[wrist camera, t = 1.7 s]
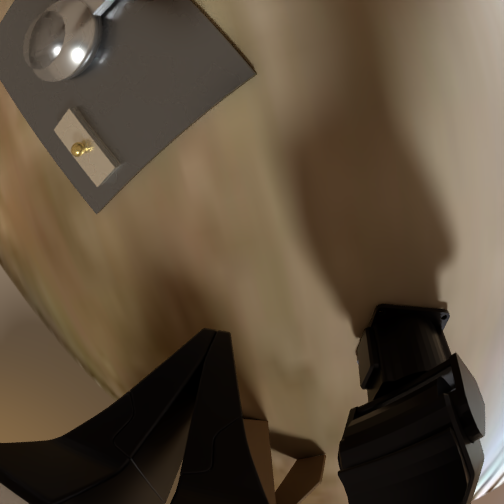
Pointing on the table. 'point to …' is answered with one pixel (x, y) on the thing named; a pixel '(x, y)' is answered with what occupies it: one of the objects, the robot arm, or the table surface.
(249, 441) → the photo frame
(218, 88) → the stand plate
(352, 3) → the table surface
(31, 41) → the brown cylinder with ball
